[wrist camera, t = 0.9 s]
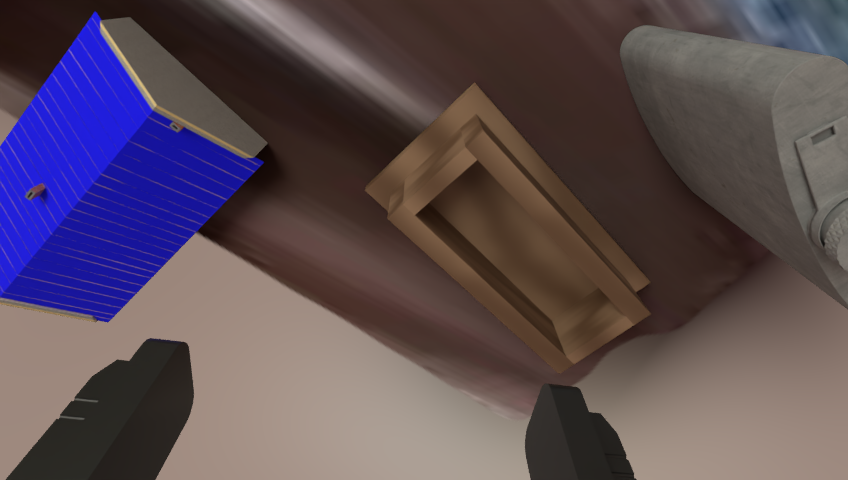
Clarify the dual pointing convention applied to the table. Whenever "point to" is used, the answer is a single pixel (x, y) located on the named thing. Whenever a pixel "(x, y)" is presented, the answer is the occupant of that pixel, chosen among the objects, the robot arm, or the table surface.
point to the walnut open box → (511, 232)
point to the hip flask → (753, 139)
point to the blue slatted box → (112, 173)
